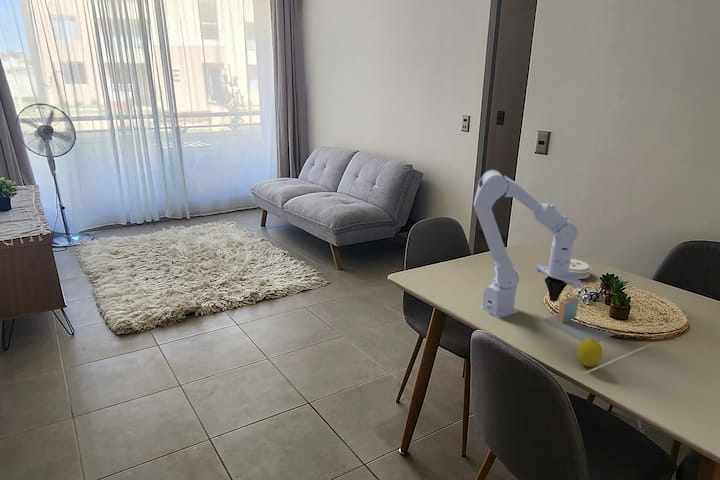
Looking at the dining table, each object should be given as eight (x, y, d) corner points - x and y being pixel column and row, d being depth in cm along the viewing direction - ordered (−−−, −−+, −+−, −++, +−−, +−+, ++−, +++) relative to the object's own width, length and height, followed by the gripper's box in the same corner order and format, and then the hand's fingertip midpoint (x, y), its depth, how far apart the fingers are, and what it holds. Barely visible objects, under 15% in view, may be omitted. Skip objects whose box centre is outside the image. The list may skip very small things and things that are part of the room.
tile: (562, 323, 137) (566, 303, 135) (557, 320, 139) (560, 300, 136) (575, 318, 140) (579, 299, 138) (570, 315, 141) (573, 296, 139)
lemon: (578, 357, 120) (583, 330, 118) (601, 365, 117) (607, 338, 114) (572, 367, 116) (577, 339, 114) (595, 375, 113) (601, 347, 110)
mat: (588, 346, 126) (588, 344, 126) (540, 321, 139) (540, 319, 139) (615, 335, 131) (615, 334, 131) (567, 312, 144) (567, 311, 144)
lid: (564, 282, 167) (566, 269, 166) (546, 268, 179) (548, 256, 178) (596, 280, 169) (598, 267, 167) (576, 267, 181) (579, 255, 179)
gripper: (590, 264, 134) (582, 307, 138) (549, 249, 146) (543, 289, 150) (574, 269, 131) (567, 312, 135) (533, 253, 142) (528, 293, 147)
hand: (553, 300), depth 142 cm, fingers closed
